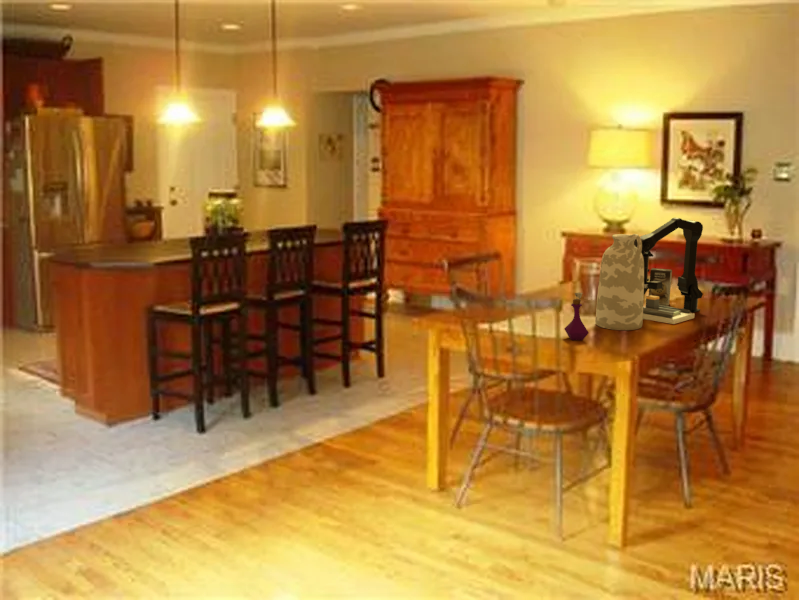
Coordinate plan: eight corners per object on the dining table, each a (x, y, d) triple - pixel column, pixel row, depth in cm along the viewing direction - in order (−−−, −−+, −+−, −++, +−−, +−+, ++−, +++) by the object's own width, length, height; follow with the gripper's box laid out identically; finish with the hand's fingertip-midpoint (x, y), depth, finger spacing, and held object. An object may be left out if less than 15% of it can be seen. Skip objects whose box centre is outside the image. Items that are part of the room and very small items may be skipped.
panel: (647, 310, 404) (648, 302, 403) (694, 318, 389) (694, 310, 388) (626, 315, 391) (626, 307, 391) (673, 324, 376) (674, 315, 375)
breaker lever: (650, 308, 395) (651, 295, 394) (658, 310, 392) (659, 296, 391) (645, 310, 392) (646, 296, 391) (653, 311, 390) (654, 297, 388)
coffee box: (647, 304, 417) (649, 269, 414) (649, 302, 423) (651, 267, 420) (668, 306, 414) (670, 271, 411) (669, 303, 420) (672, 269, 417)
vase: (586, 322, 376) (591, 230, 369) (623, 319, 384) (629, 228, 377) (616, 333, 358) (622, 236, 351) (654, 329, 365) (661, 234, 358)
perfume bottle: (563, 336, 350) (566, 290, 347) (582, 336, 351) (585, 290, 348) (568, 341, 343) (571, 294, 340) (588, 341, 344) (591, 294, 340)
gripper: (612, 266, 394) (610, 301, 397) (651, 271, 381) (648, 308, 384) (625, 263, 402) (623, 298, 405) (664, 268, 389) (662, 304, 392)
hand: (638, 302), depth 396 cm, fingers closed
